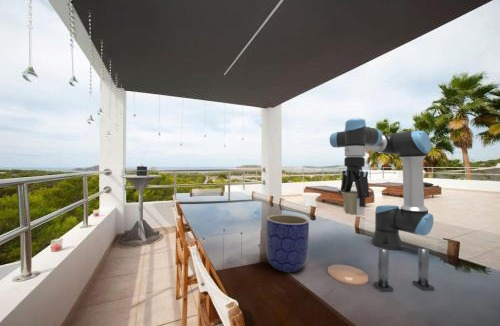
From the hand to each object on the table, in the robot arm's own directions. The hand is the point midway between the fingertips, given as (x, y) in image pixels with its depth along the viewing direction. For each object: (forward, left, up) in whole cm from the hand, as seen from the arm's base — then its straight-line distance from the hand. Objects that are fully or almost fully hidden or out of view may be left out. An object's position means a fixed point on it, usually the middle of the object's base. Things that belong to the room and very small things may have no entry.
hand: (353, 212), depth 88 cm
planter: (+24, -10, -26) cm, 37 cm away
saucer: (+1, -1, -26) cm, 26 cm away
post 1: (-7, +9, -26) cm, 28 cm away
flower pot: (0, 0, -1) cm, 1 cm away
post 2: (-23, +9, -26) cm, 35 cm away
